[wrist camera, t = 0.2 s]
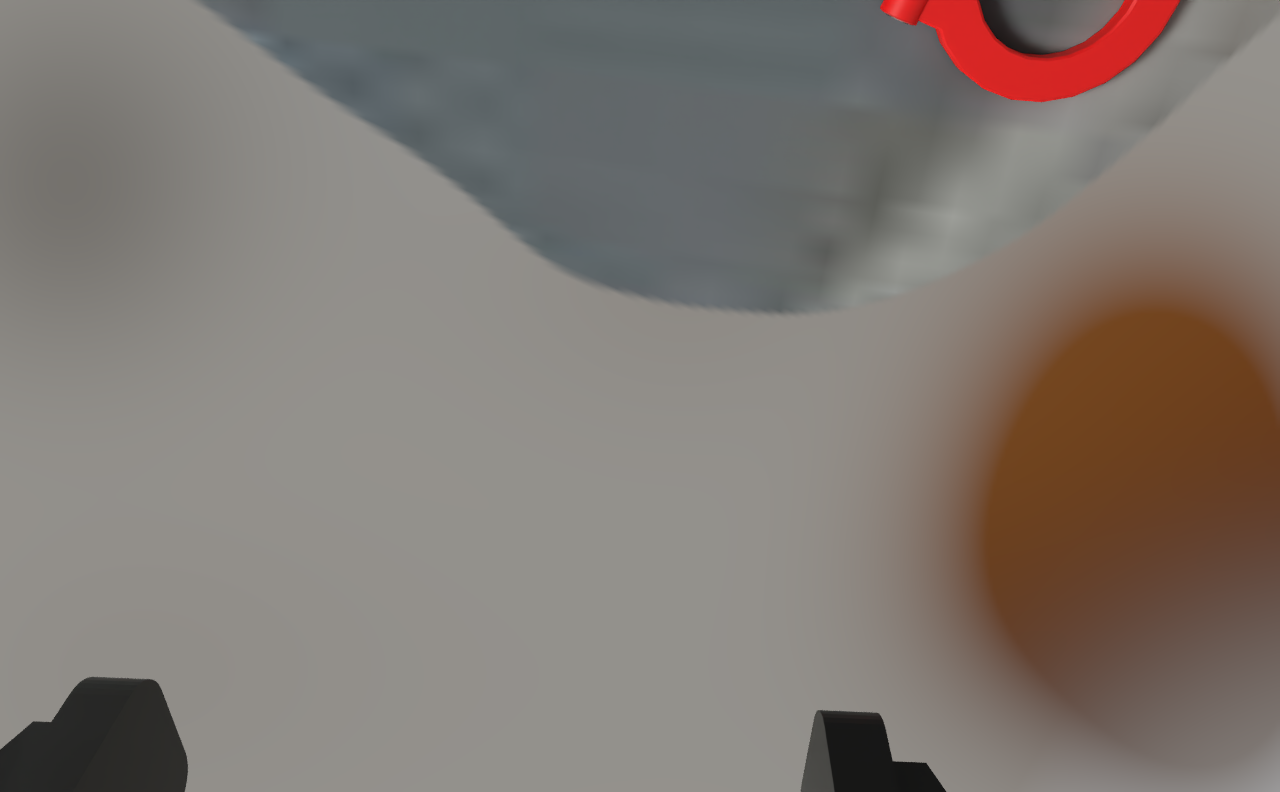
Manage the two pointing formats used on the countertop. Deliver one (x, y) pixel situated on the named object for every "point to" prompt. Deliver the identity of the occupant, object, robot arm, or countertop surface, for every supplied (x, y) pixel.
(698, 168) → the countertop surface
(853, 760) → the robot arm
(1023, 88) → the tow hook
